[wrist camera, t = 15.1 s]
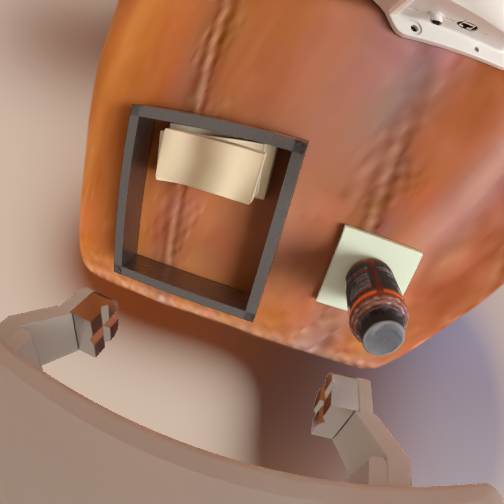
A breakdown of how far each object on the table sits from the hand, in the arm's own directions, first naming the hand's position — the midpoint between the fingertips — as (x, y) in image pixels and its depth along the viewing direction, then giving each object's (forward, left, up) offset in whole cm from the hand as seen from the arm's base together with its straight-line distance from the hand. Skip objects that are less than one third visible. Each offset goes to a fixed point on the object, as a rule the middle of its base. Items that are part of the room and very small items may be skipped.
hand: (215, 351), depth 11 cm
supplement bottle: (-12, +7, -25) cm, 29 cm away
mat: (-12, +6, -26) cm, 29 cm away
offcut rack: (+9, +4, -26) cm, 28 cm away
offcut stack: (+8, -2, -26) cm, 28 cm away
